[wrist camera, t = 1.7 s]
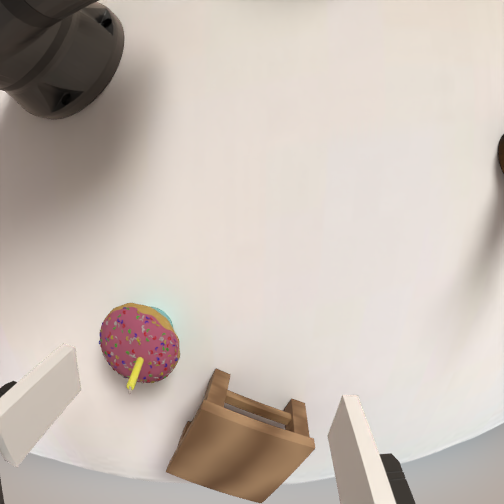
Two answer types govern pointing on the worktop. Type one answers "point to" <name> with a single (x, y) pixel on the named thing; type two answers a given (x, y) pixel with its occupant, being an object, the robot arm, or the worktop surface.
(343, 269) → the worktop surface
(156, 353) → the cupcake
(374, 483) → the robot arm
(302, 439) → the walnut stool
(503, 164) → the brown chess pawn
